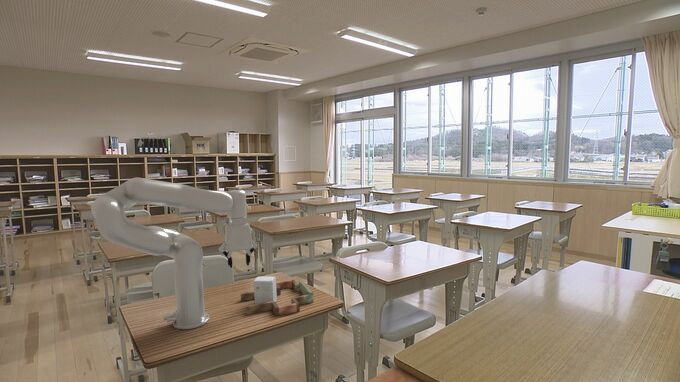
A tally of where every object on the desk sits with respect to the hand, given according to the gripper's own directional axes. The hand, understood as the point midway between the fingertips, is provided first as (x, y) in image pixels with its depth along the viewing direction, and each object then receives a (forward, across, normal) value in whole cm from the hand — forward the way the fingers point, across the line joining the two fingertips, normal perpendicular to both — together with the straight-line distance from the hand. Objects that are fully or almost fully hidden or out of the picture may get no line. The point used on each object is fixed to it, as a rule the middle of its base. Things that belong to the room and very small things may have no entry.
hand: (239, 265), depth 148 cm
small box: (+18, +10, 0) cm, 20 cm away
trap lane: (+18, +14, 0) cm, 22 cm away
